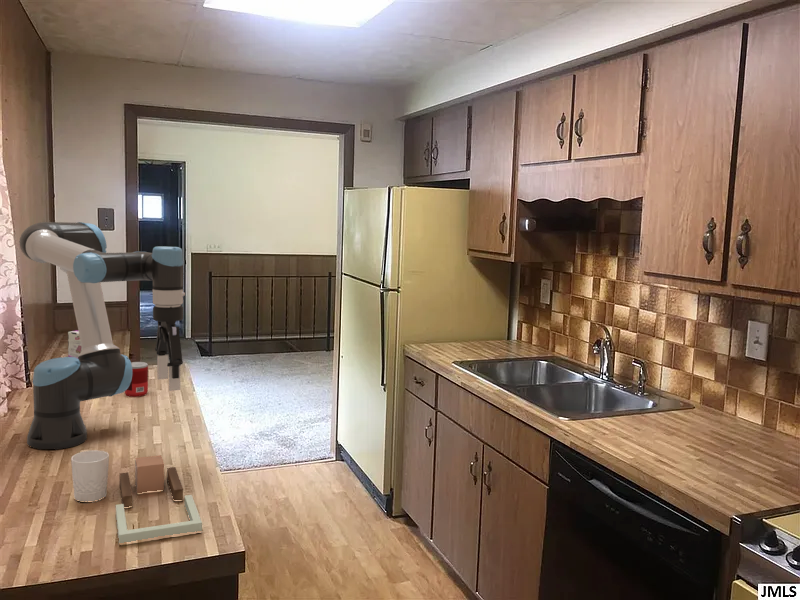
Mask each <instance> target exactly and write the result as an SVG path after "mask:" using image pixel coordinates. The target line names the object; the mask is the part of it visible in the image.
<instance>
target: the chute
mask: <svg viewBox="0 0 800 600" xmlns="http://www.w3.org/2000/svg"><path fill="white" fill-rule="evenodd" d="M166 480H168V481H167V484H168V483H169V484H168V487H169V486H170V488H169V490H170V489H171V491H170V494H171V493H172V494H171V497H172V496H173V498H172V500H173V499H174V500H183V501H184V487H183V484H182V481H181V479H180V476H179V473H178V470H177V467H176V466H173V467H166ZM120 490H121V492H120V498H122V499H121V504H124V507H129V506H132V507H133V491H132V486H131V479H130V474H129V472H128V471H127V472H120V473H119V491H120Z"/></svg>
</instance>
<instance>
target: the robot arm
mask: <svg viewBox="0 0 800 600" xmlns="http://www.w3.org/2000/svg"><path fill="white" fill-rule="evenodd" d="M18 244H19V247H20V251H21V252H22V253H23V255H24V256H25V257H26V258H28V259H29V260H31V261H34V262H36V263H40V264H46V263H49V264H51V265H53V266H56V267H59V269H60V270H61V271H62V272H64V273H65V274H67V281H68V284H69V291H70V295H71V301H72V305H73V310H74V316H75V320H76V321H75V322H76V325H77V331H79V336H80V341H81V346H82V351H81V353H80V354H79V355H78V358H75V357H68V356H64V357H63V356H60V357H53V358H50V359H47V360H45V361H44V360H43V361H42V362H39V363H38V364H37V365H36V366H35V367H34V369H33V376H32V385H33V389H32V390H33V418H32V422H31V424H30V427H29V429H28V433H27V436H26V443H27V444H28V445H29V446H31V447H34V448H38V449H37V450H41V449H55V450H64V449H68V448H72V447H77V446H78V445H81V444H83V443H84V442H86V441H87V439H88V430H87V428H86V424H85V422H84V419H83V417H82V414H81V402H85V401H90V400H94V399H100V398H105V397H113V396H116V395H119V394H123V393H125V391H126V390H127V389H128V387H129V385H130V382H131V380H132V364H131V363H132V362H131V359H130V358H129V357H128V356H127V355H126V354H125V355H124V354H122V353H121V348H120V347H119V346H117V345H115V344H114V343H113V338H112V337H113V335H112V332H111V327H110V322H109V317H108V312H107V309H106V308H107V307H106V302H105V298H104V294H103V288H102V284H101V283H112V282H113V283H115V282H130V281H131V282H132V281H133V282H135V281H151V282H152V304H153V305H154V306H153V307H152V319H153V321H156V322H157V332H156V340H155V348H154V350H155V352H156V355H157V357H156V359H157V360H156V362H157V363H156V364H157V365H156V366H157V371H156V372H157V374H156V375H157V380H167V379H168V391H169V392H172V391H180V390H181V365H183V363H184V361H183V354H182V346H181V344H182V343H181V336H180V326H176V325H177V324H176V322H179V321H182V320H183V319H184V307H183V305H182V304H183V303H184V296H186V293H185V292H184V264H185V263H184V259H183V258H184V256H183V254H184V253H183V249H182V248H181V247H179V246H165V245H164V246H163V245H162V246H158V245H157V246H154V247H153V248H152V252H147V251H144V250H143V251H133V252H107V240H106V237H105V235H104V232H103V231H102V230H101V229H100V227H98V226H97V225H96V224H94V223H89V222H86V223H85V222H79V221H78V222H65V221H64V222H61V221H59V222H57V221H42V222H41V221H40V222H37V223H33V224H31V225H29V226H28V227H26V229H24V230H23V232H22V233H21V235H20V236H19V243H18ZM85 440H86V441H85ZM28 445H27V446H28ZM29 446H28V447H29ZM31 447H30V448H31ZM34 448H33V449H34ZM63 448H64V449H63Z"/></svg>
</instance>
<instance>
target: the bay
mask: <svg viewBox="0 0 800 600" xmlns="http://www.w3.org/2000/svg"><path fill="white" fill-rule="evenodd" d="M183 501H184V503H183V504H185V506H184V508H185V507H186V509H185V511H186V510H187V512H188V515H189V518H190V521H189V520H186V521H181V522H179V521H178V522H174V523H167V524H166V523H165V524H161V525H152V526H146V527H141V528H134V529H128V526H127V518H126V512H125V511H126V510H125V509H124V504H122V503H120V504H115V521H116V520H117V522H116V529H118V532H117V538H119V541H118V544H119V543H124V542H131V541H136V540H142V539H148V538H154V537H158V536H165V535H173V534H180V533H187V532H195V531H196V532H197V531H202V532H203V521H202V518H201V517H200V516H201V515H200V513H199V511H198V508H197V505H196V502H195V499H194V497H193V495H192V494H188V495H187V494H186V495H184V496H183ZM187 512H186V513H187ZM188 515H187V516H188ZM189 518H188V519H189Z"/></svg>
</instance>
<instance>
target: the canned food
mask: <svg viewBox="0 0 800 600" xmlns="http://www.w3.org/2000/svg"><path fill="white" fill-rule="evenodd" d="M131 364H132V380H131V382H130V385H129V387H128V389H127V390H126V391H124V395H125V396H126V397H131V398H135V397H136V398H137V397H138V398H139V397H143V396H146V395H147V394H148V391H149V364H148V363H147V362H144V361H133V362H131Z"/></svg>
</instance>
